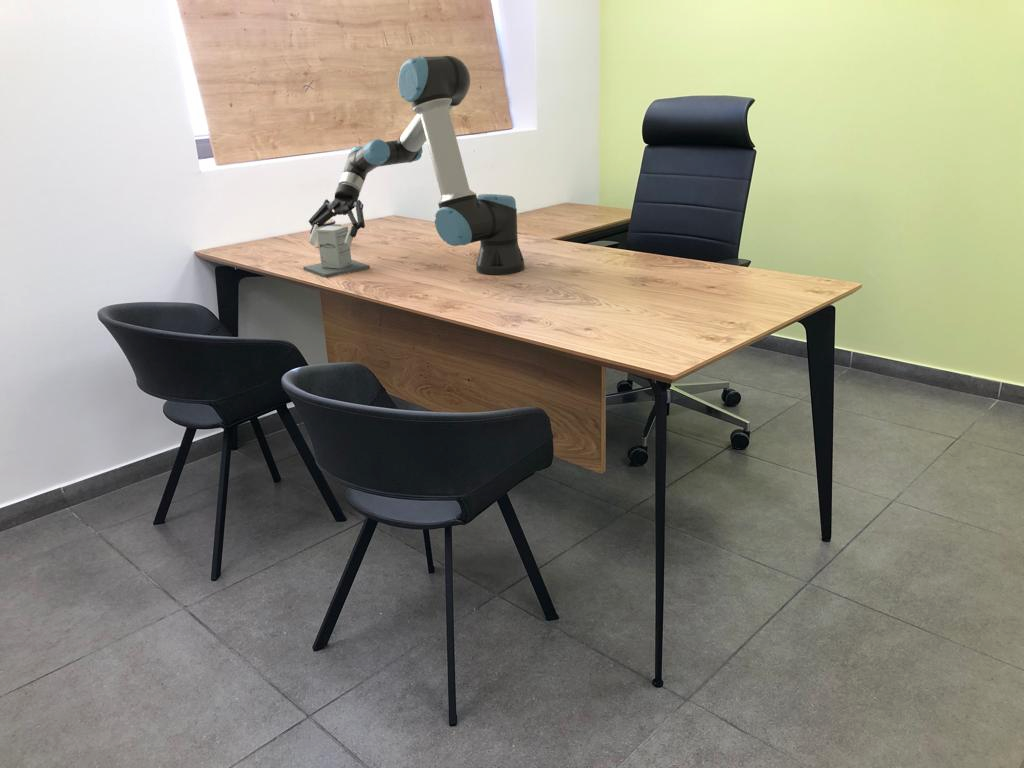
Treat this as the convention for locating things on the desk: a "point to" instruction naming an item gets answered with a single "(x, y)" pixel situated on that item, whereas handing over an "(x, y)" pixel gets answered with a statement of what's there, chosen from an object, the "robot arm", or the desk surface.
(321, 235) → the supplement box
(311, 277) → the desk surface
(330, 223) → the teacup with lid
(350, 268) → the slate mat
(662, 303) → the desk surface
